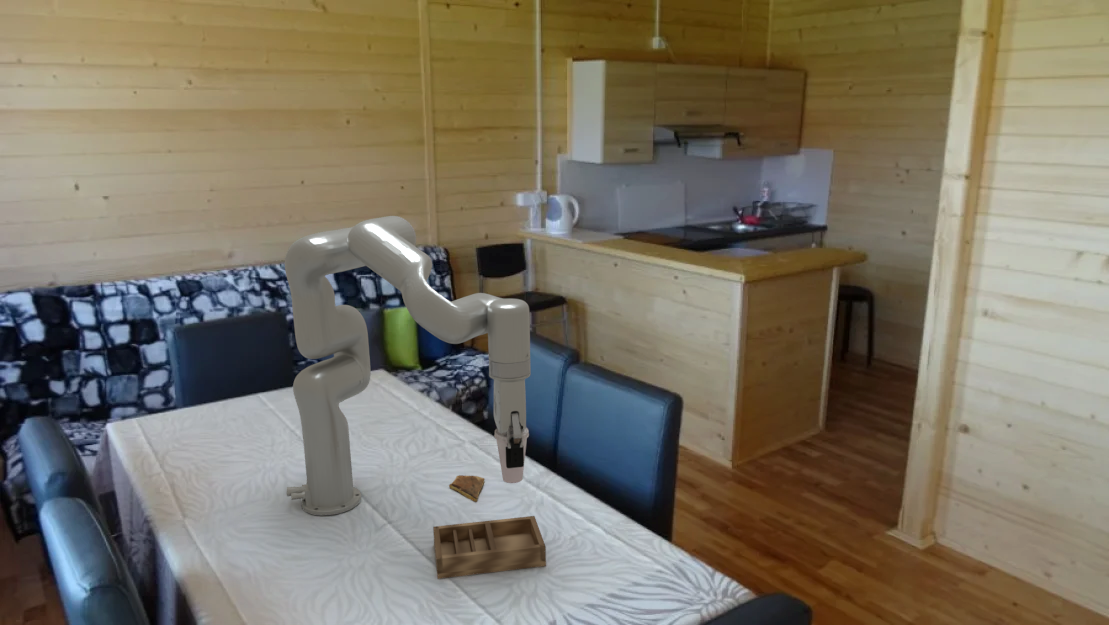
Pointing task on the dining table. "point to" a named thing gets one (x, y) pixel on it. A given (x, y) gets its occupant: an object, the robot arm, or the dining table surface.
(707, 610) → the dining table surface
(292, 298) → the robot arm
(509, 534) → the wooden shelf
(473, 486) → the shard
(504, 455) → the smoothie
